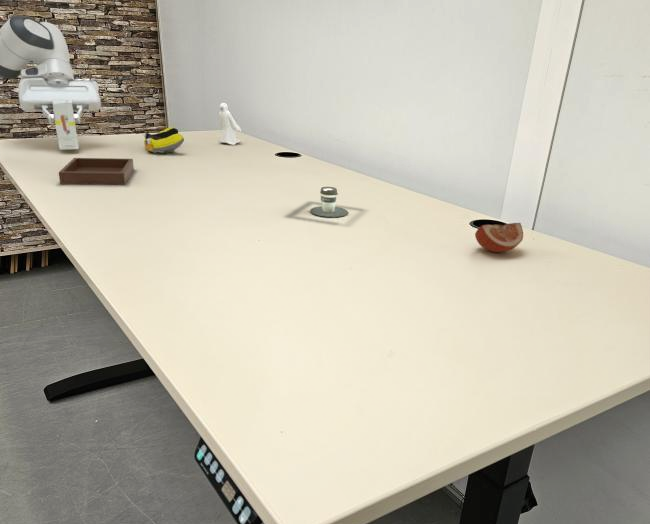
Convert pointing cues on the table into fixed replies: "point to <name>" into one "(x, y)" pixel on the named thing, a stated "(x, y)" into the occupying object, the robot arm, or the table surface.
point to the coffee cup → (328, 204)
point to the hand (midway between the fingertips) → (64, 121)
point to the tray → (97, 171)
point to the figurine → (228, 126)
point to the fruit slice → (499, 236)
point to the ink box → (65, 124)
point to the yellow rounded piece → (163, 140)
